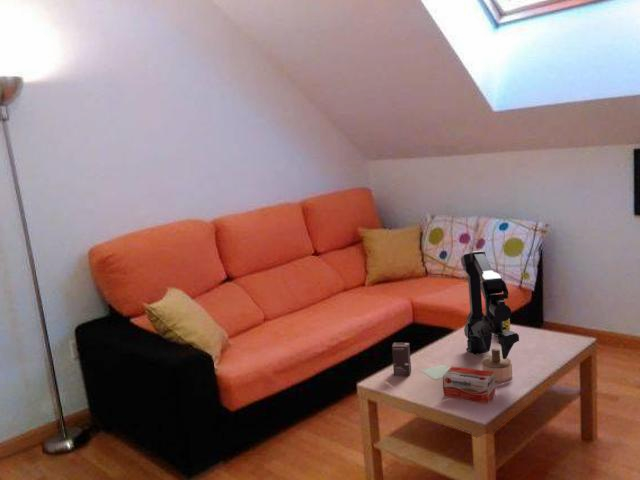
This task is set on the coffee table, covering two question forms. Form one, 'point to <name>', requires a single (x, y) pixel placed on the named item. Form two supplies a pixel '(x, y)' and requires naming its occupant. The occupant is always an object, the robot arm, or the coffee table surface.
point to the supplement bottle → (507, 324)
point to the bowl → (500, 372)
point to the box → (401, 359)
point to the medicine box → (469, 384)
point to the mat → (436, 371)
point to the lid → (496, 360)
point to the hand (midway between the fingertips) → (496, 354)
